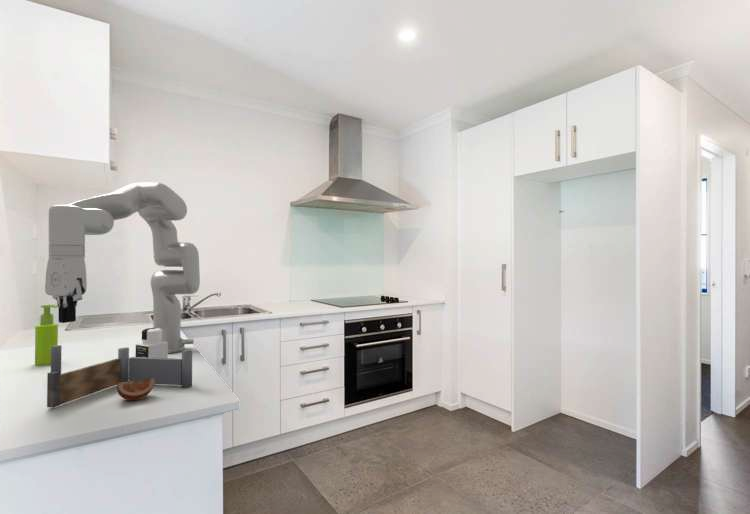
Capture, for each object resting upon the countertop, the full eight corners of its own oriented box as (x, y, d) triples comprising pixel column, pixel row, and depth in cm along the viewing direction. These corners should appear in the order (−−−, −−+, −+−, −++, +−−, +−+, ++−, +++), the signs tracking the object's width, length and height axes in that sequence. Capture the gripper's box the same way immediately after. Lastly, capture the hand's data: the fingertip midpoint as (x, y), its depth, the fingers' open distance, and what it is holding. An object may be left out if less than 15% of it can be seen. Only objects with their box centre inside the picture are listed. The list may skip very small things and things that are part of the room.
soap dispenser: (50, 365, 130) (51, 305, 130) (30, 365, 130) (30, 305, 130) (64, 361, 135) (65, 304, 136) (45, 361, 136) (46, 304, 136)
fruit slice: (153, 392, 103) (153, 374, 103) (157, 399, 98) (157, 380, 98) (115, 399, 98) (116, 379, 98) (117, 407, 93) (118, 386, 93)
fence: (193, 385, 109) (194, 349, 109) (188, 388, 107) (188, 351, 107) (56, 378, 115) (56, 345, 115) (47, 381, 112) (48, 347, 112)
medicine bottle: (134, 364, 131) (135, 329, 131) (155, 360, 137) (155, 326, 138) (147, 367, 128) (148, 331, 128) (168, 362, 134) (168, 327, 134)
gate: (115, 383, 109) (115, 355, 109) (120, 383, 109) (120, 355, 109) (46, 407, 91) (47, 373, 91) (53, 407, 91) (53, 373, 91)
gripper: (33, 252, 102) (33, 322, 102) (69, 252, 96) (69, 326, 96) (65, 252, 109) (65, 318, 109) (100, 252, 103) (100, 321, 103)
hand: (67, 321), depth 102 cm, fingers closed
